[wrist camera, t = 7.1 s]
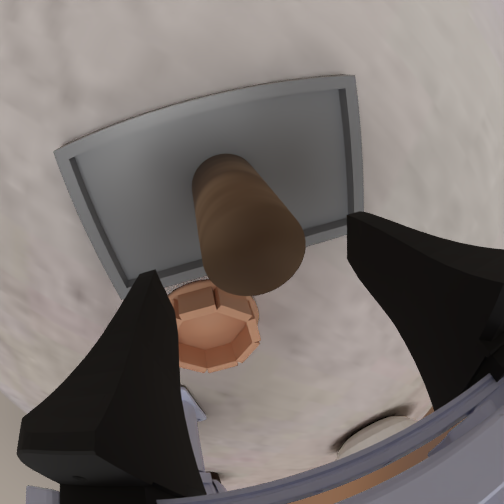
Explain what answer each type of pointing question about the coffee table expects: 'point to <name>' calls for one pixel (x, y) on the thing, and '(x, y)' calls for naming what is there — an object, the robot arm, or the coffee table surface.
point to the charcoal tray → (200, 149)
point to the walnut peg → (244, 228)
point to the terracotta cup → (213, 326)
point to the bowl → (374, 434)
